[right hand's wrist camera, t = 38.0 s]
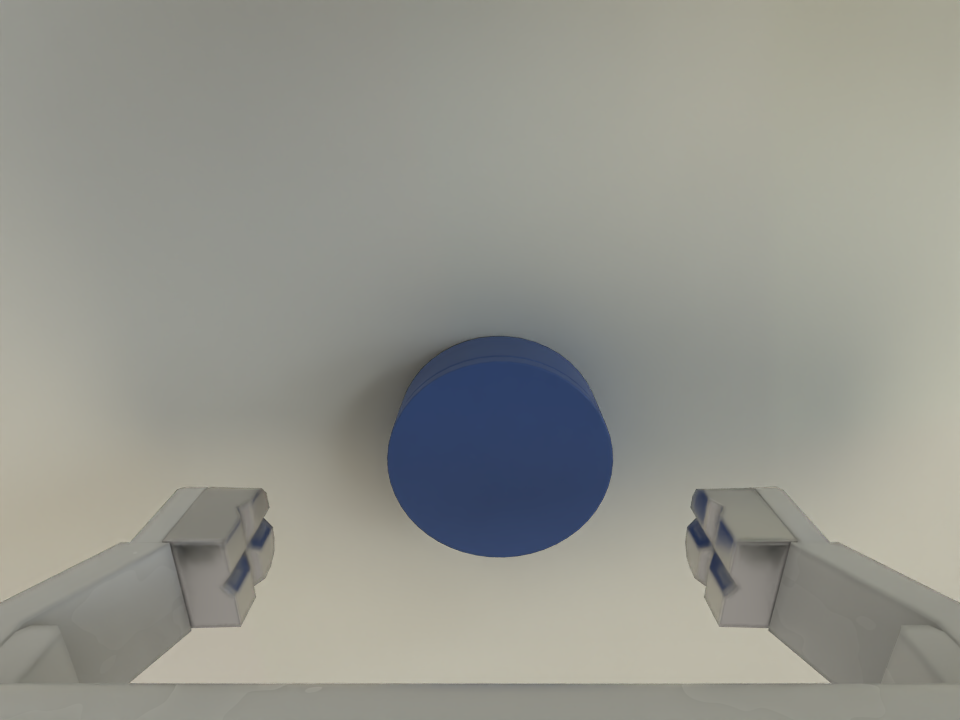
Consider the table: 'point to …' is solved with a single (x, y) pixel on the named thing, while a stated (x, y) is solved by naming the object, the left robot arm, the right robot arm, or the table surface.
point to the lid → (499, 448)
